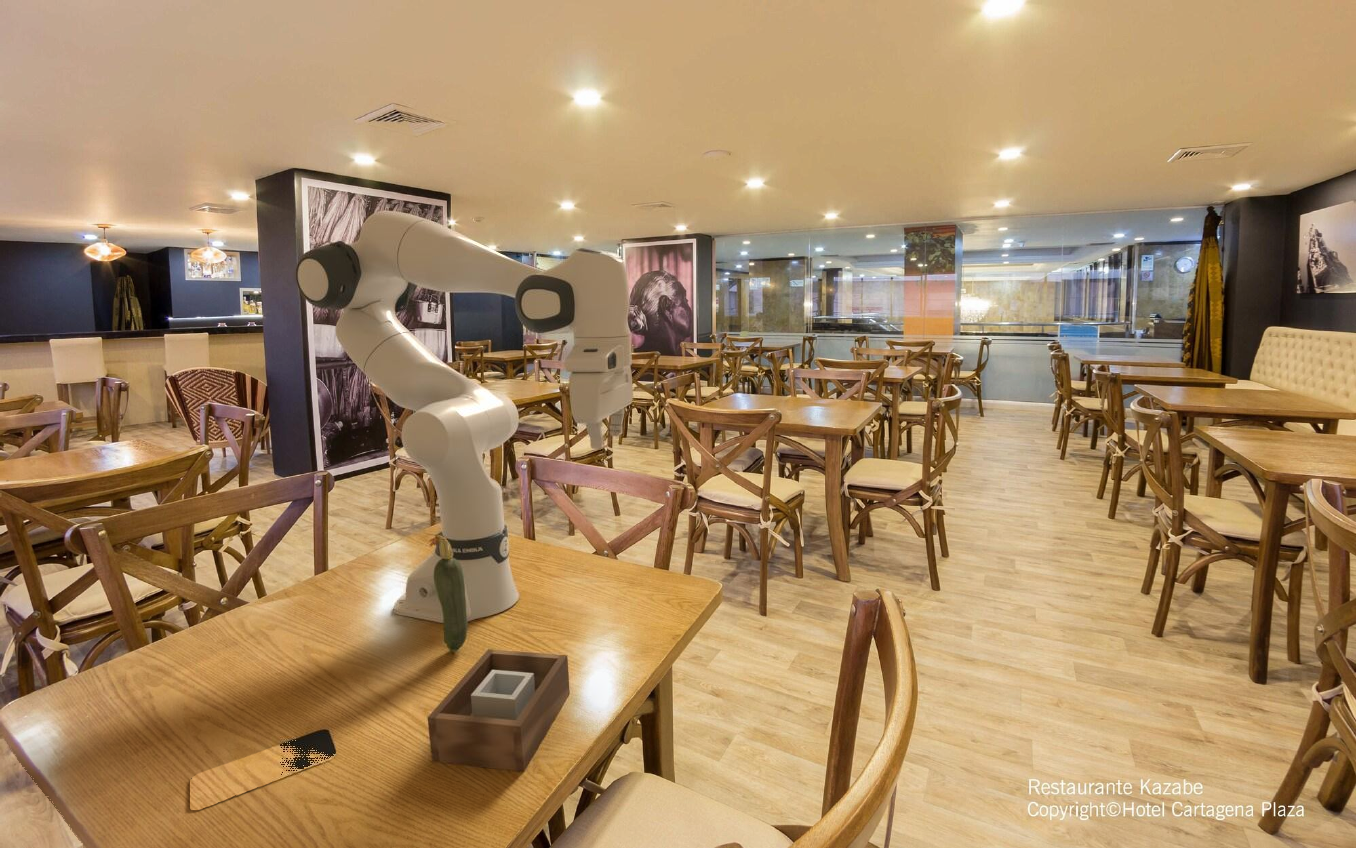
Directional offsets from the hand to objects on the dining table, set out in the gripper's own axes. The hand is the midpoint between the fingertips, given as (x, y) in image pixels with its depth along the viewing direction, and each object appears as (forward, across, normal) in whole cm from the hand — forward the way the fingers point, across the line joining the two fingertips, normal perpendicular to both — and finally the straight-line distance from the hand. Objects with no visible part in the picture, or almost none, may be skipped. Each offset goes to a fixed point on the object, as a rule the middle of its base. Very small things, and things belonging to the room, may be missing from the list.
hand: (607, 441), depth 106 cm
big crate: (+33, +27, -7) cm, 43 cm away
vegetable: (+33, +12, -23) cm, 42 cm away
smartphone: (+33, +40, -32) cm, 61 cm away
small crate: (+32, +27, -7) cm, 42 cm away
